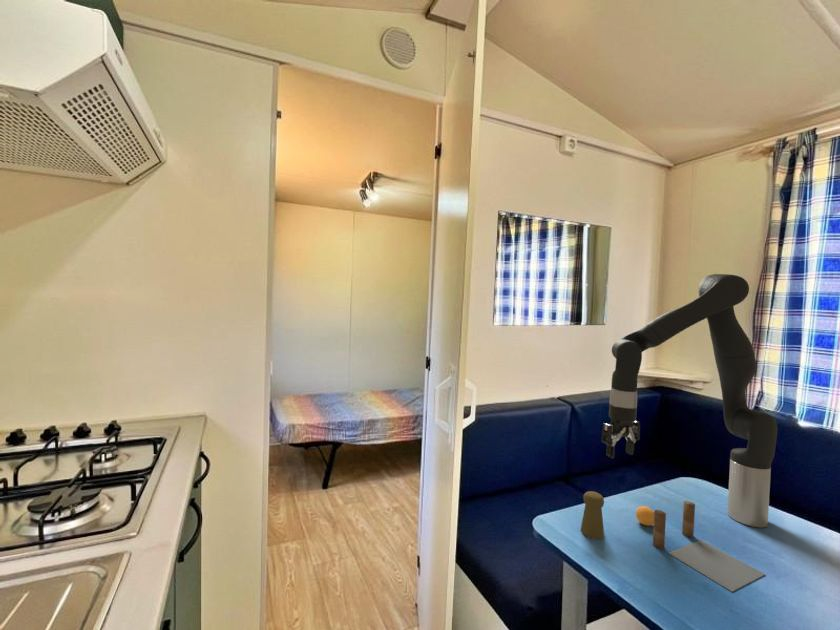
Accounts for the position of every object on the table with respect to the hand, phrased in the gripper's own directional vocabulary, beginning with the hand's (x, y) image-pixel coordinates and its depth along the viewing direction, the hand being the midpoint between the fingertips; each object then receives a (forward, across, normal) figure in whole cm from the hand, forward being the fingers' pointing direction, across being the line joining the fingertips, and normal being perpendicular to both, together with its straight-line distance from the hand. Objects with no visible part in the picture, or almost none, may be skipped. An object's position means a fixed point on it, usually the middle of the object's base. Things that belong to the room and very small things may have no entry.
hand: (619, 455), depth 117 cm
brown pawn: (+17, +18, +6) cm, 25 cm away
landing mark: (+17, -1, +27) cm, 32 cm away
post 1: (+17, +6, +17) cm, 25 cm away
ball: (+14, 0, +9) cm, 17 cm away
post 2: (+17, -7, +17) cm, 25 cm away
